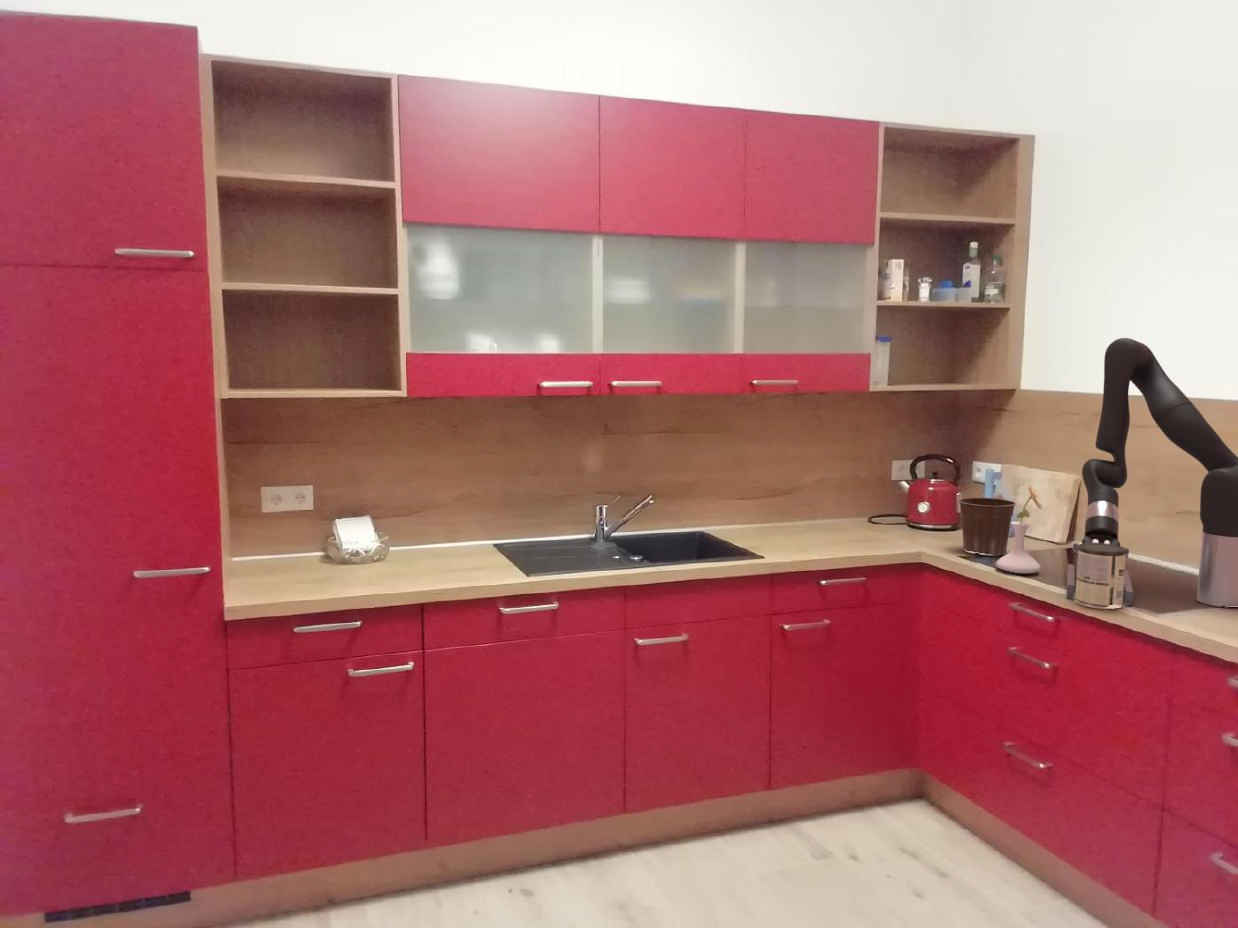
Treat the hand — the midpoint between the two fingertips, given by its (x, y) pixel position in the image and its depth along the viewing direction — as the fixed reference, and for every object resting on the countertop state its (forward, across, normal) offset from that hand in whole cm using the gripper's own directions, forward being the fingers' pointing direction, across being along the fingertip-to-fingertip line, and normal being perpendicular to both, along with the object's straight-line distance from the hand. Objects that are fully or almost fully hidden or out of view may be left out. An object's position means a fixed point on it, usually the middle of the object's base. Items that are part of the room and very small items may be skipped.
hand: (1099, 579), depth 213 cm
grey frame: (-3, 0, +10) cm, 10 cm away
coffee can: (+8, 0, 0) cm, 8 cm away
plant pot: (-27, -30, +35) cm, 54 cm away
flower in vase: (-12, -19, +19) cm, 30 cm away
